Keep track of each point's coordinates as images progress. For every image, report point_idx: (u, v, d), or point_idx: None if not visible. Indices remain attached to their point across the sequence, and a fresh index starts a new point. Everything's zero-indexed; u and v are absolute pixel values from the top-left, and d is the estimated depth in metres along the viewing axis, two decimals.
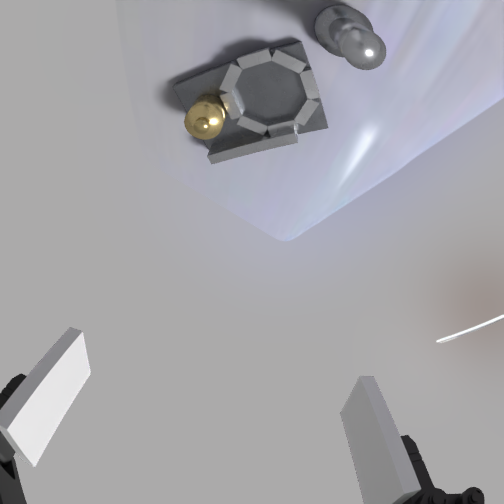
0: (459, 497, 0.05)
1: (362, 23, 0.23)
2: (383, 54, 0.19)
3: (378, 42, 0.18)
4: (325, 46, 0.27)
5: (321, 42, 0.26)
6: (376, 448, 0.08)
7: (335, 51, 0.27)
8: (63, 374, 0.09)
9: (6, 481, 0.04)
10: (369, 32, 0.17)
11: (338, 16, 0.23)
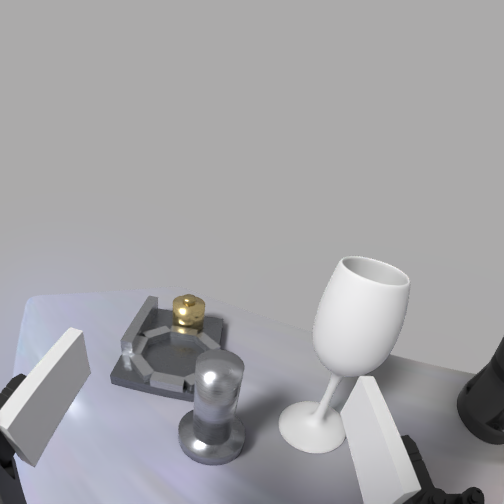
0: (459, 497, 0.05)
1: (218, 449, 0.24)
2: (210, 376, 0.21)
3: (226, 376, 0.21)
4: None
5: None
6: (376, 448, 0.08)
7: (192, 414, 0.27)
8: (63, 374, 0.09)
9: (6, 481, 0.04)
10: (240, 373, 0.22)
11: (233, 431, 0.26)
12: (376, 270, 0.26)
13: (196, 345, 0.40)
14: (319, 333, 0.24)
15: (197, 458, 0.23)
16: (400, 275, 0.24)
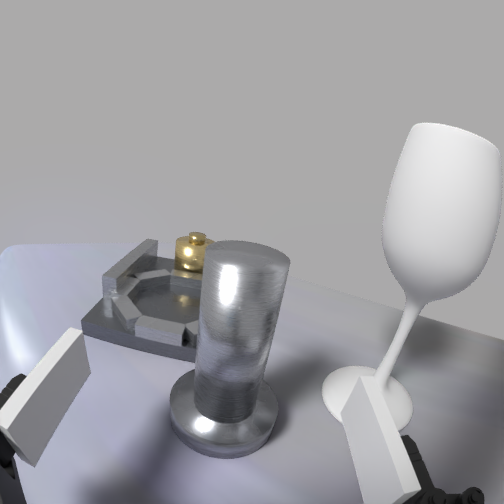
0: (459, 497, 0.05)
1: (235, 429, 0.15)
2: (232, 264, 0.12)
3: (261, 267, 0.12)
4: None
5: None
6: (376, 448, 0.08)
7: (193, 375, 0.18)
8: (63, 374, 0.09)
9: (6, 481, 0.04)
10: (285, 266, 0.13)
11: (258, 402, 0.17)
12: None
13: None
14: (400, 219, 0.15)
15: (199, 446, 0.14)
16: None
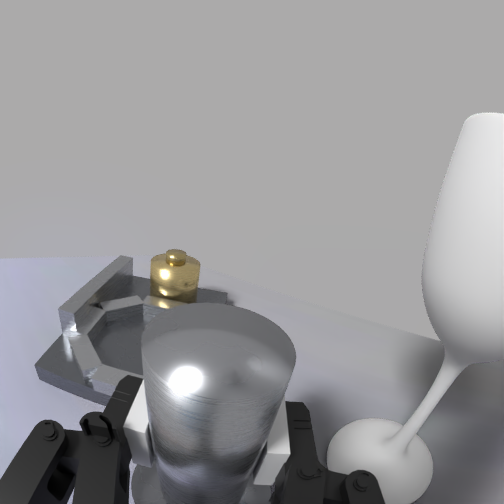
0: (342, 484, 0.07)
1: None
2: (184, 381, 0.06)
3: (242, 383, 0.06)
4: None
5: None
6: None
7: None
8: None
9: (120, 497, 0.05)
10: (286, 371, 0.07)
11: (245, 490, 0.11)
12: None
13: None
14: (460, 259, 0.09)
15: None
16: None
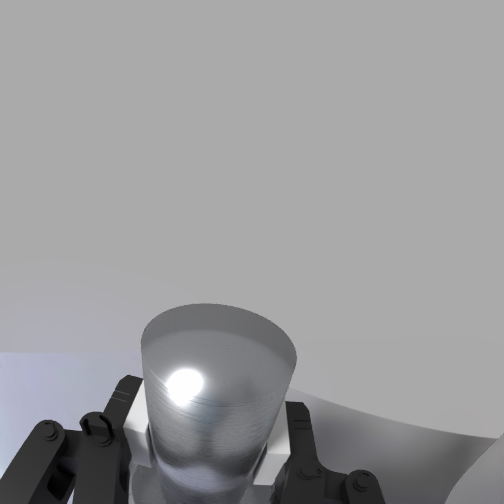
0: (342, 484, 0.07)
1: None
2: (184, 383, 0.06)
3: (242, 384, 0.06)
4: None
5: None
6: None
7: None
8: None
9: (120, 497, 0.05)
10: (287, 372, 0.06)
11: (245, 490, 0.11)
12: None
13: None
14: None
15: None
16: None
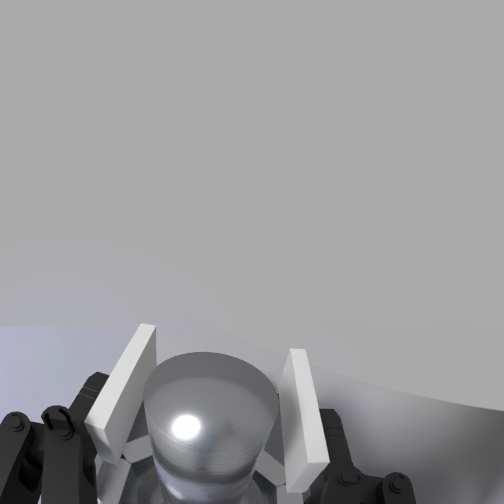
0: (379, 485, 0.06)
1: None
2: (181, 434, 0.06)
3: (230, 434, 0.06)
4: None
5: None
6: (295, 416, 0.10)
7: None
8: (142, 369, 0.11)
9: (86, 490, 0.05)
10: (269, 421, 0.07)
11: (240, 502, 0.11)
12: None
13: None
14: None
15: None
16: None
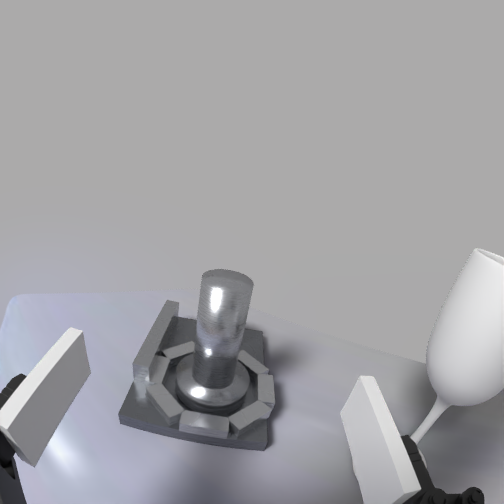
0: (459, 497, 0.05)
1: (220, 393, 0.23)
2: (218, 287, 0.21)
3: (235, 288, 0.21)
4: None
5: None
6: (376, 448, 0.08)
7: (191, 358, 0.27)
8: (63, 374, 0.09)
9: (6, 481, 0.04)
10: (249, 288, 0.22)
11: (236, 376, 0.26)
12: None
13: None
14: (451, 354, 0.14)
15: (195, 405, 0.23)
16: None
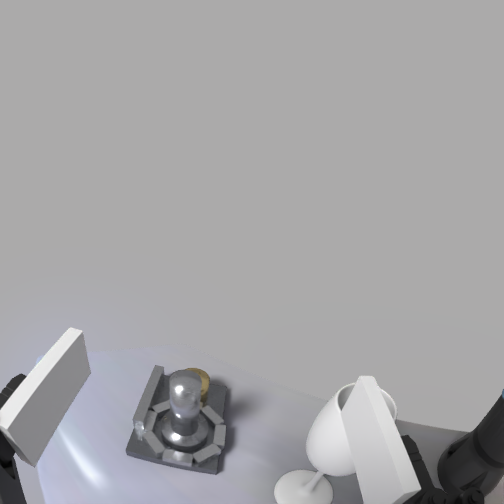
0: (459, 497, 0.05)
1: (187, 439, 0.33)
2: (178, 388, 0.31)
3: (188, 389, 0.31)
4: None
5: None
6: (376, 448, 0.08)
7: None
8: (63, 374, 0.09)
9: (6, 481, 0.04)
10: (198, 387, 0.32)
11: (199, 427, 0.36)
12: None
13: None
14: (311, 448, 0.23)
15: (173, 445, 0.33)
16: (390, 402, 0.23)
